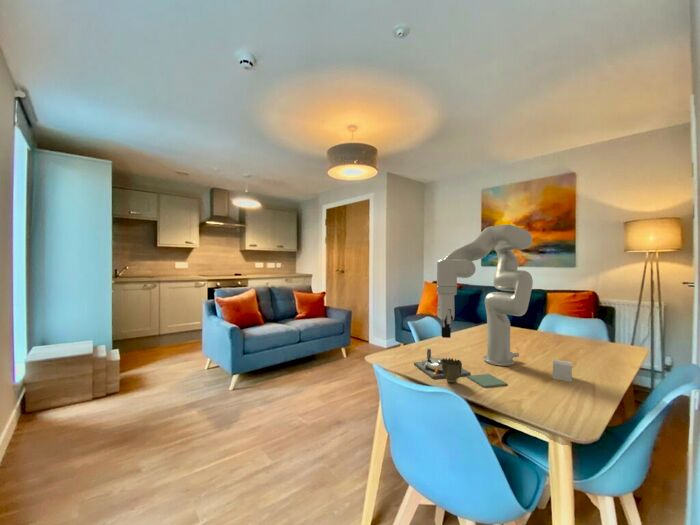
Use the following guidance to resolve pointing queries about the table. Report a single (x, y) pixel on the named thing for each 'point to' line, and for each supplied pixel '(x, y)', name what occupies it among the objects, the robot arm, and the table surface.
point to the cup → (451, 369)
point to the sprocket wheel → (433, 362)
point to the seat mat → (486, 380)
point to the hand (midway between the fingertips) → (445, 337)
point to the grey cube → (562, 370)
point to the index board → (437, 374)
